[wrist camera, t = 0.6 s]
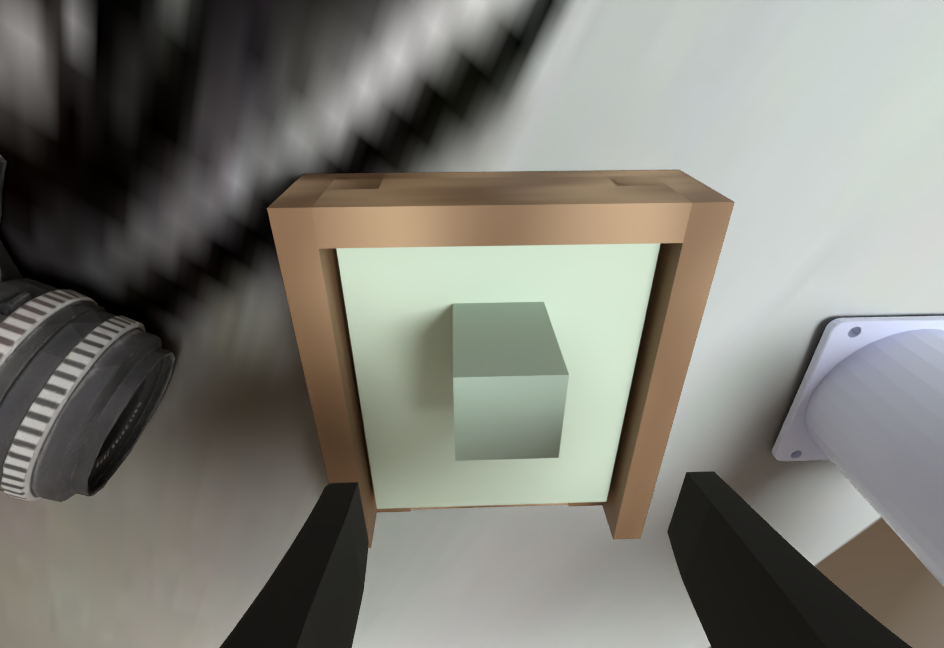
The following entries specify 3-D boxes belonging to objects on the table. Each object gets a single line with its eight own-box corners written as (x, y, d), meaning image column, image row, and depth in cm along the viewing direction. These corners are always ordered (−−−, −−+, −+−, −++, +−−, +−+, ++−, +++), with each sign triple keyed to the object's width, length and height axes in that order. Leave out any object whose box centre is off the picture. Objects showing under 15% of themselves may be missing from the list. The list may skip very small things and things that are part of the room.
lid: (649, 231, 16) (722, 304, 12) (600, 483, 22) (636, 591, 18) (342, 236, 16) (301, 312, 11) (379, 490, 22) (361, 602, 17)
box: (679, 169, 17) (734, 202, 14) (615, 471, 25) (640, 538, 21) (303, 173, 16) (267, 208, 13) (357, 479, 24) (342, 548, 21)
